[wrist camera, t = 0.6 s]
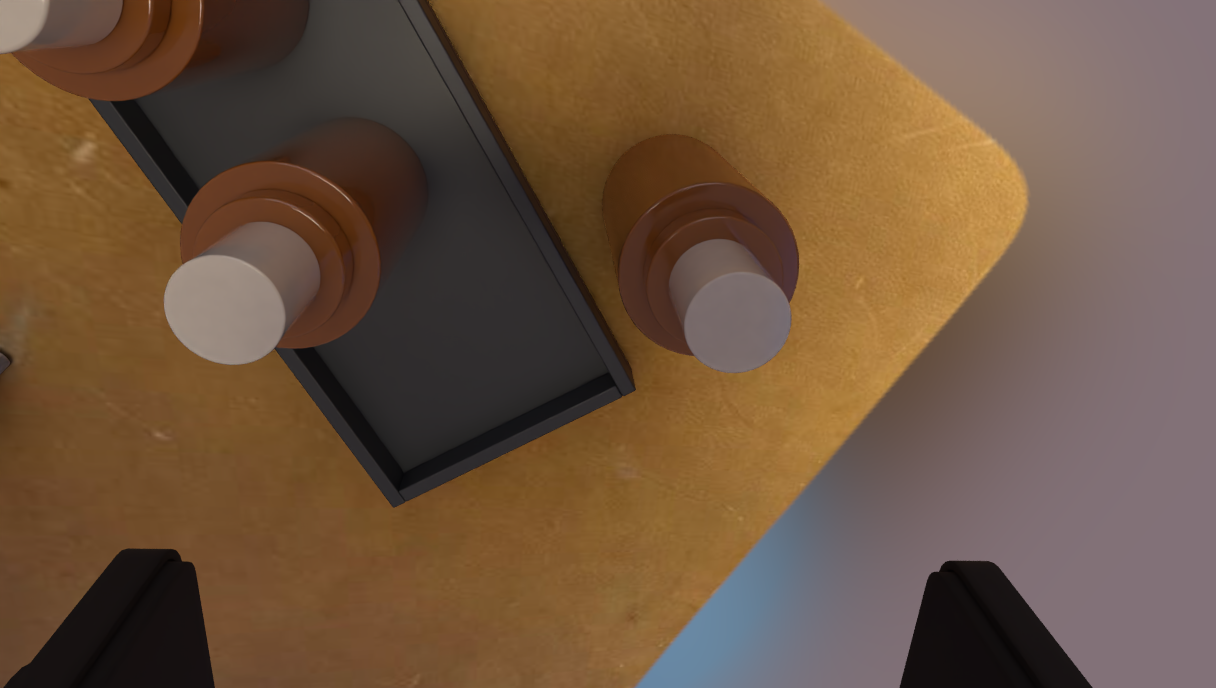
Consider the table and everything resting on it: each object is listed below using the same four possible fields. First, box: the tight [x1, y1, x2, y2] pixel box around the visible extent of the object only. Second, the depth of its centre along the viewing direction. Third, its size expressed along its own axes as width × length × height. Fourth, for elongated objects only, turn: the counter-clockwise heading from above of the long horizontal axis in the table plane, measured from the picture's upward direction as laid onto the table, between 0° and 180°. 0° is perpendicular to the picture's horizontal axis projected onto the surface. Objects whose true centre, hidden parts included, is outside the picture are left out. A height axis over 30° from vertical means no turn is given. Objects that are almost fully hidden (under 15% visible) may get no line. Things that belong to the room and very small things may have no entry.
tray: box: [88, 0, 636, 507], centre depth 30 cm, size 11×23×2 cm, turn 27°
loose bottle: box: [602, 134, 799, 373], centre depth 26 cm, size 5×5×13 cm
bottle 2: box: [164, 117, 429, 365], centre depth 24 cm, size 5×5×13 cm
